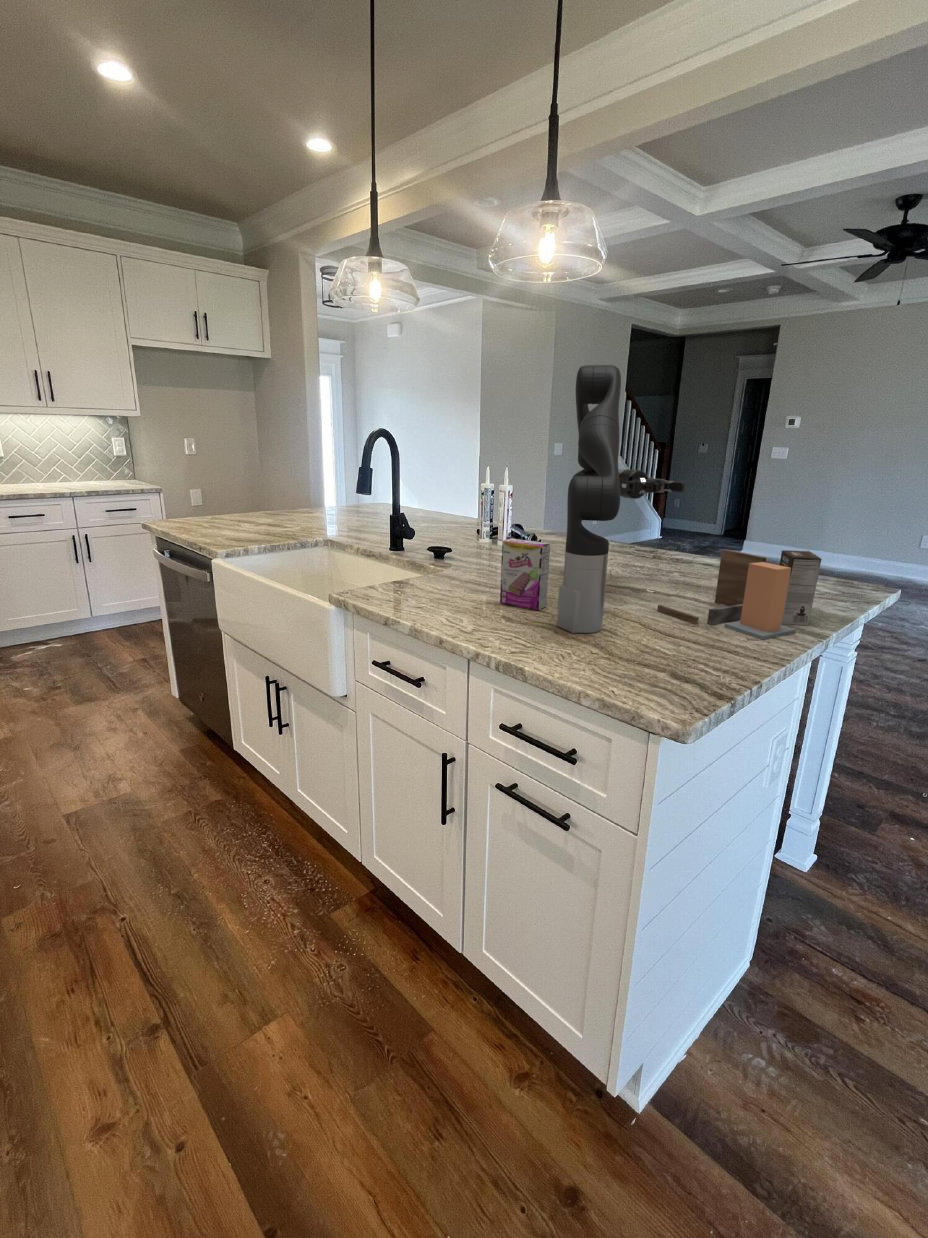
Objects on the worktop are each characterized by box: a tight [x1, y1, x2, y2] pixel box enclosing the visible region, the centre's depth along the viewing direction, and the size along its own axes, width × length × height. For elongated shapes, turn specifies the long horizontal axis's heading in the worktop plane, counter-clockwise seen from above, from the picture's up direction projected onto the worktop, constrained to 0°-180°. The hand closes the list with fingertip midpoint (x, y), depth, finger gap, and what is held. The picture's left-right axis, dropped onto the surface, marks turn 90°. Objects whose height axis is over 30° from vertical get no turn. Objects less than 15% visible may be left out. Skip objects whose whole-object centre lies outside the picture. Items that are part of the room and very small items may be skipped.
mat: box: [723, 620, 797, 640], centre depth 137 cm, size 11×10×1 cm
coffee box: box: [779, 549, 822, 627], centre depth 143 cm, size 9×6×16 cm
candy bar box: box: [499, 538, 551, 611], centre depth 151 cm, size 11×5×16 cm, turn 58°
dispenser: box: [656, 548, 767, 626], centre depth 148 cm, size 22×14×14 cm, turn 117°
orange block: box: [739, 561, 791, 632], centre depth 135 cm, size 4×7×14 cm, turn 27°
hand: (670, 487), depth 151 cm, fingers open, 8 cm apart
